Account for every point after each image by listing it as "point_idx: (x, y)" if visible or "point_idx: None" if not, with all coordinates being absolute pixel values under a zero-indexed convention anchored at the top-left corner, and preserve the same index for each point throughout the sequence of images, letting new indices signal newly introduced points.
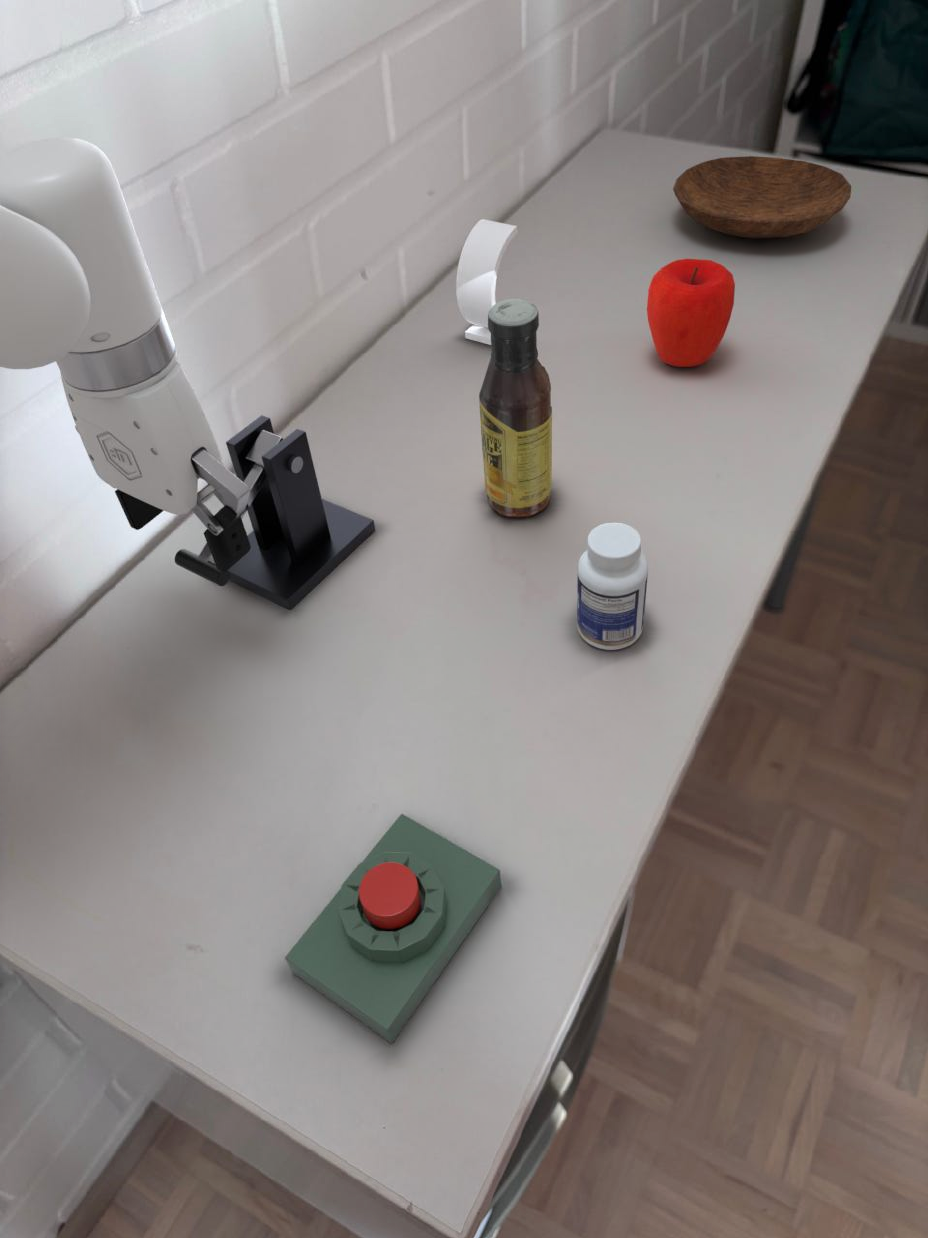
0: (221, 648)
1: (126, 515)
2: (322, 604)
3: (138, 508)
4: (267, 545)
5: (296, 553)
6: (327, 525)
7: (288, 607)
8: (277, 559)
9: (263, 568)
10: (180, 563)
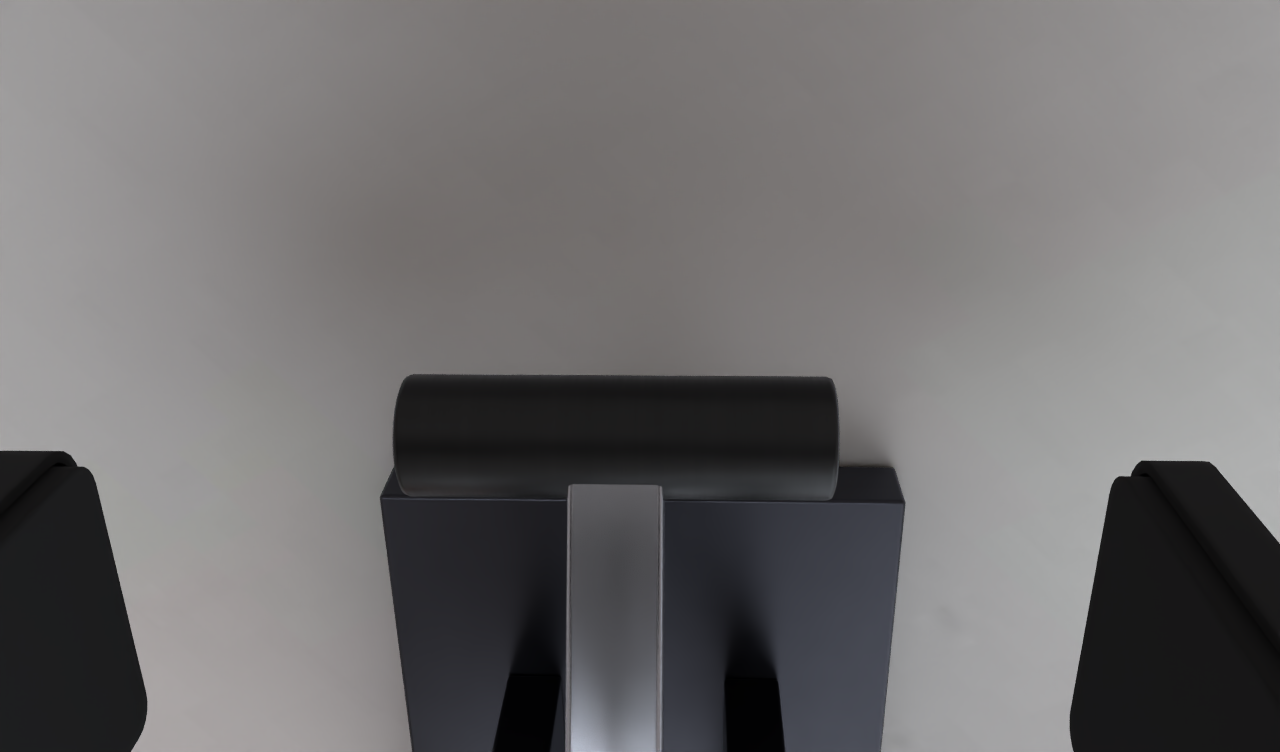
0: (488, 109)
1: (1261, 545)
2: (304, 550)
3: (1173, 669)
4: (724, 703)
5: (497, 729)
6: None
7: None
8: None
9: None
10: (771, 391)
